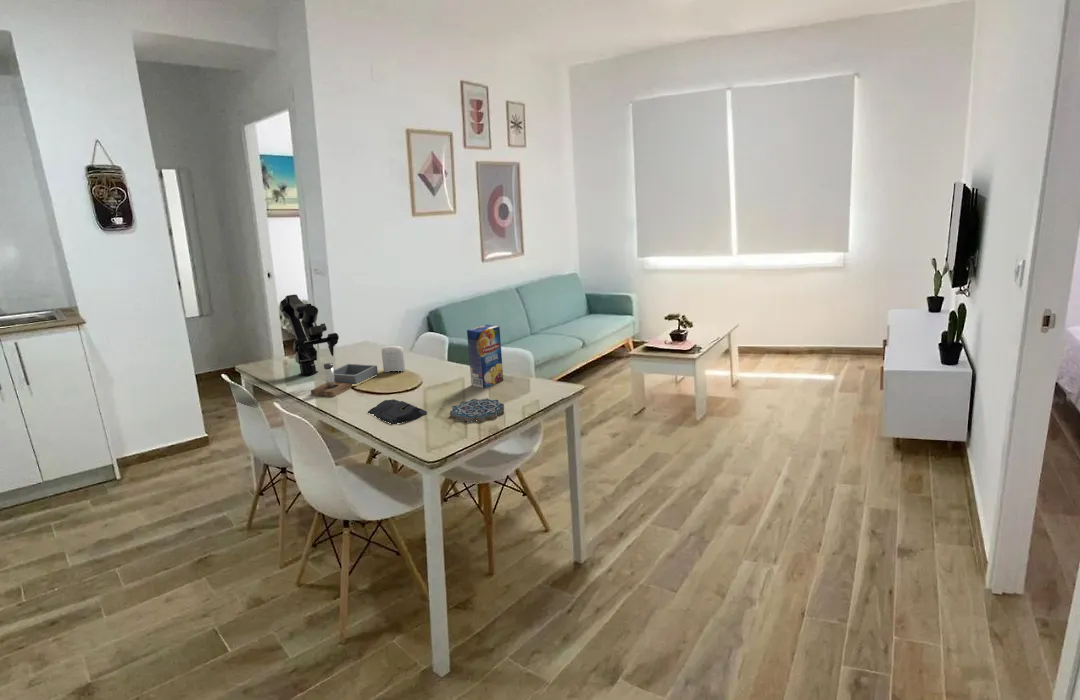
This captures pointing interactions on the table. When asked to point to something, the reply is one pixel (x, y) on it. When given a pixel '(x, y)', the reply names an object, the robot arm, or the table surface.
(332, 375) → the clear glass cylinder
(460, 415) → the decorative tile
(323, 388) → the bracket
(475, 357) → the juice carton
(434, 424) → the table surface
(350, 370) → the tray
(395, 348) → the photo printer
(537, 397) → the table surface
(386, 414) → the dark slate chunk
